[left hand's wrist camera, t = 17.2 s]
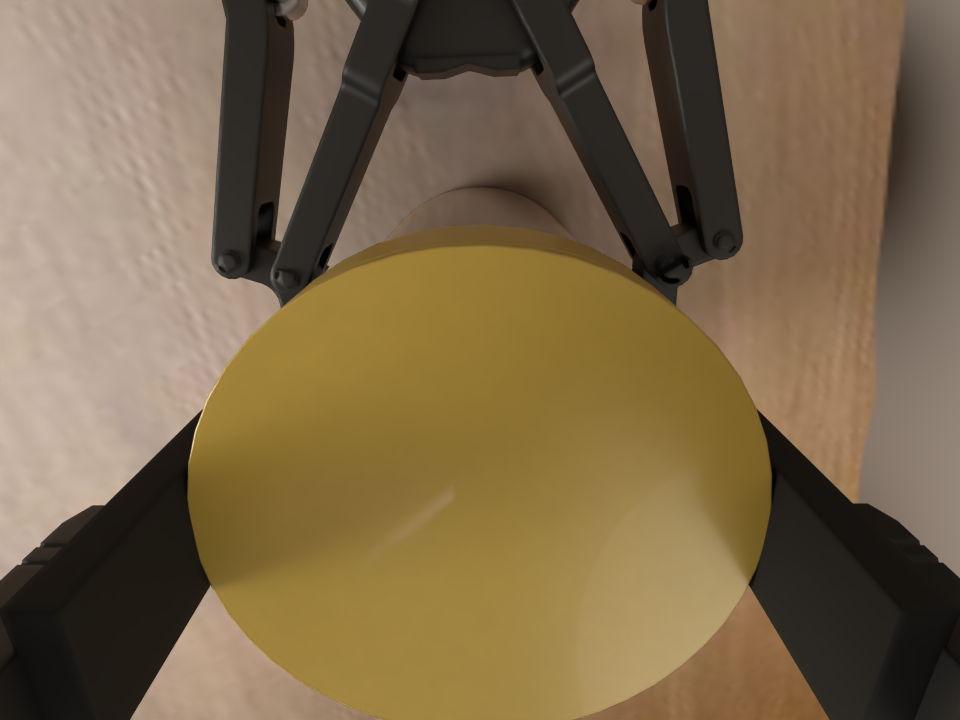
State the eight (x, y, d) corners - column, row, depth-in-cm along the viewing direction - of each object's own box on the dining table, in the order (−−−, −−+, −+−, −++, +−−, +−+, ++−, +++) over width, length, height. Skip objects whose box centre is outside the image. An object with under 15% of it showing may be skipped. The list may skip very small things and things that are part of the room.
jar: (502, 423, 29) (527, 749, 14) (337, 318, 27) (146, 561, 12) (626, 270, 26) (839, 464, 11) (453, 139, 24) (404, 144, 9)
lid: (797, 269, 11) (869, 299, 9) (652, 672, 15) (679, 756, 13) (232, 182, 10) (172, 193, 8) (235, 625, 14) (195, 706, 12)
